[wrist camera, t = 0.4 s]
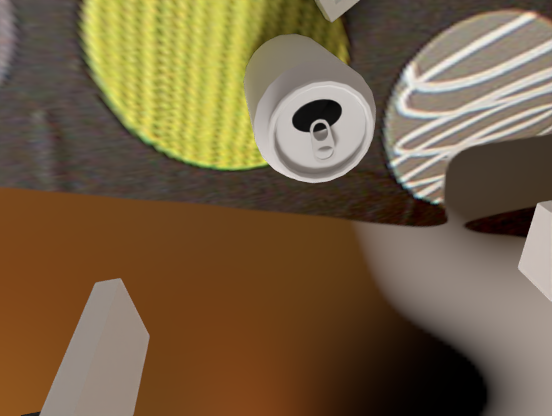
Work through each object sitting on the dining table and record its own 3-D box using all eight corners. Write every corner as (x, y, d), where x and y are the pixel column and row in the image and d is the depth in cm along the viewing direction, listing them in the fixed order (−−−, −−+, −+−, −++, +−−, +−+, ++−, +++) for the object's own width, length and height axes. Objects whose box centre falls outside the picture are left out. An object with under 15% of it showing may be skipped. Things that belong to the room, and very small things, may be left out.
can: (324, 20, 28) (383, 49, 18) (337, 111, 33) (390, 175, 23) (231, 46, 28) (240, 89, 19) (255, 133, 33) (273, 207, 23)
